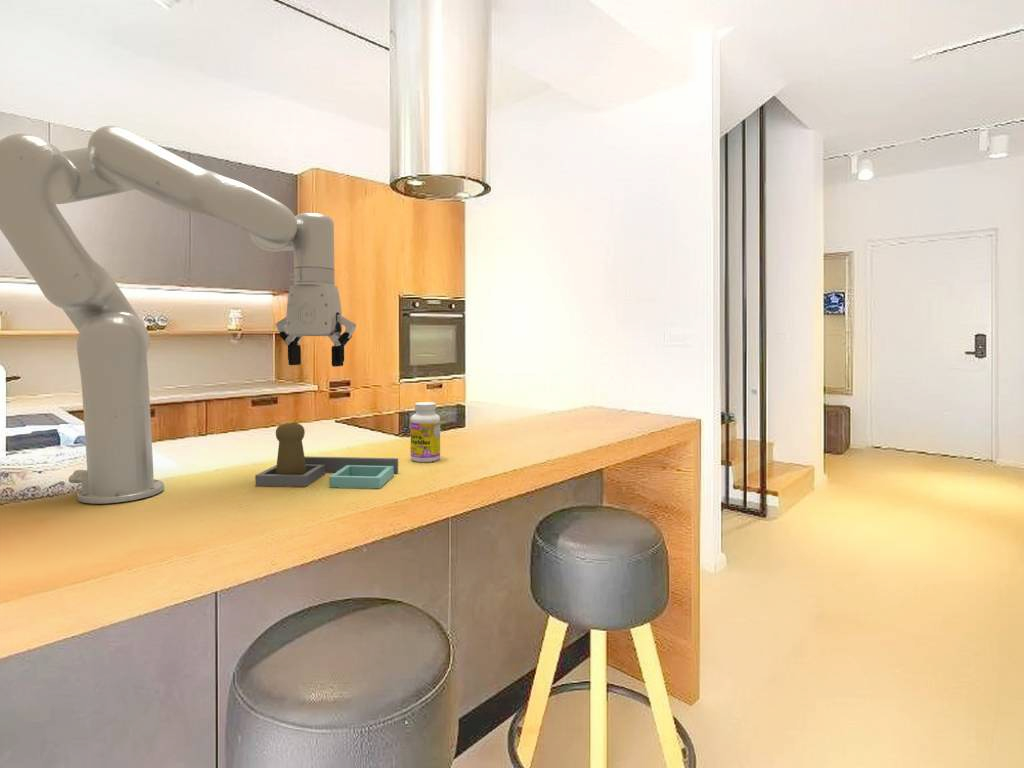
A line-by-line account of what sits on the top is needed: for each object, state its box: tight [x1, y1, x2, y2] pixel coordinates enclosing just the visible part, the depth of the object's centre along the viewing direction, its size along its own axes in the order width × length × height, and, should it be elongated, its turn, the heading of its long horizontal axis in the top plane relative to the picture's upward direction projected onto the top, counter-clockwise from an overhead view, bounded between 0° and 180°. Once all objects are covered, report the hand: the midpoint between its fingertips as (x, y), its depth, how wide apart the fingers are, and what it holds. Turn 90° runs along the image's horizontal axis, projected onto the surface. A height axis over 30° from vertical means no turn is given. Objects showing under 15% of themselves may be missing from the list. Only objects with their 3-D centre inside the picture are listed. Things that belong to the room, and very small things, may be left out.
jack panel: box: [254, 455, 399, 489], centre depth 112 cm, size 24×12×3 cm, turn 87°
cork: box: [275, 422, 307, 475], centre depth 111 cm, size 6×6×11 cm
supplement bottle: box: [409, 401, 441, 463], centre depth 130 cm, size 7×7×13 cm
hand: (316, 365), depth 115 cm, fingers open, 9 cm apart
